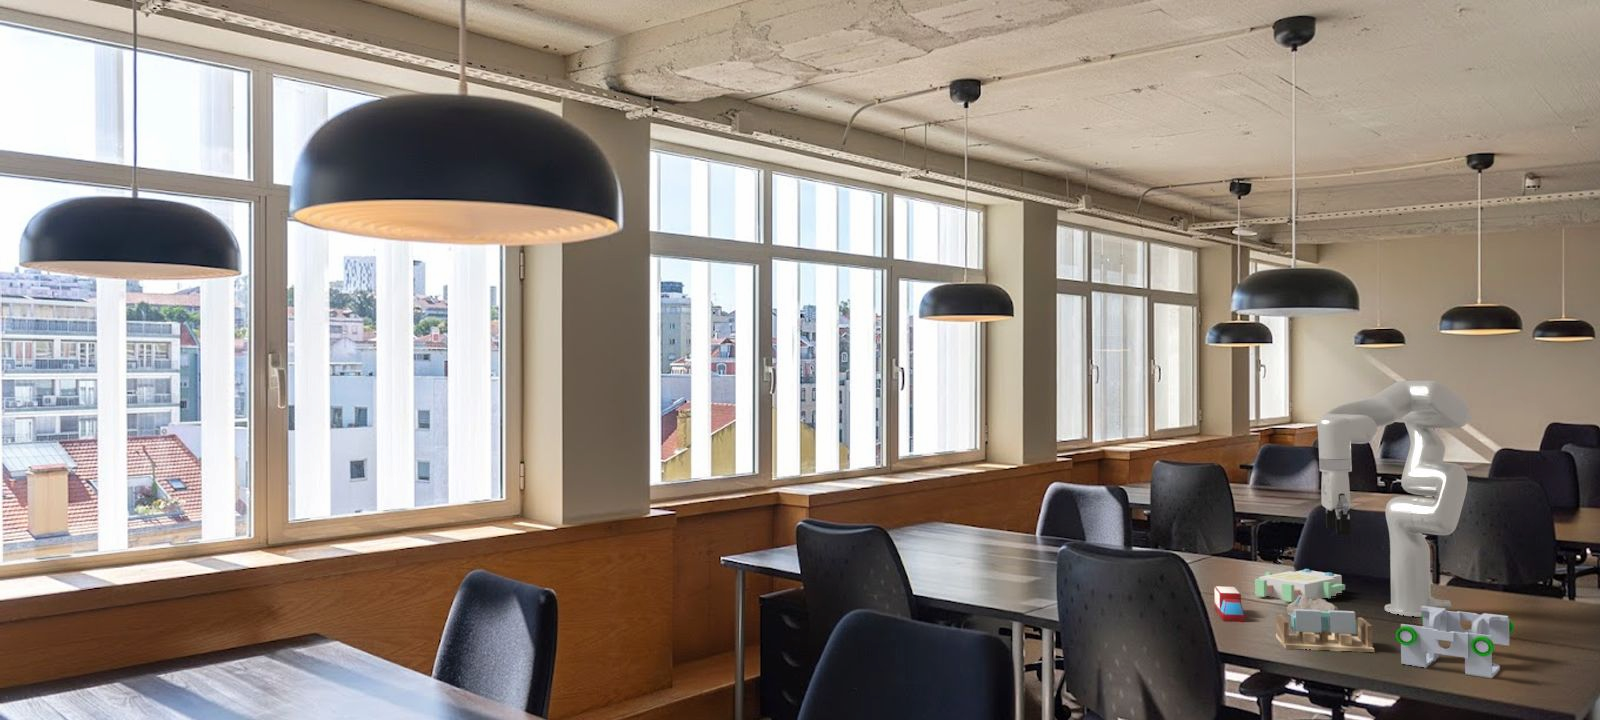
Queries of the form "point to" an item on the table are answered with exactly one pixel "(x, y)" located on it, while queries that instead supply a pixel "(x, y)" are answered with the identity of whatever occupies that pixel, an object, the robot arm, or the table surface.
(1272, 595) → the decorative block
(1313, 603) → the concrete fragment
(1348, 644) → the cradle
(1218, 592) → the toy truck
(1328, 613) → the blocks in teal channel
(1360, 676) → the table surface
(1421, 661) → the bracket
